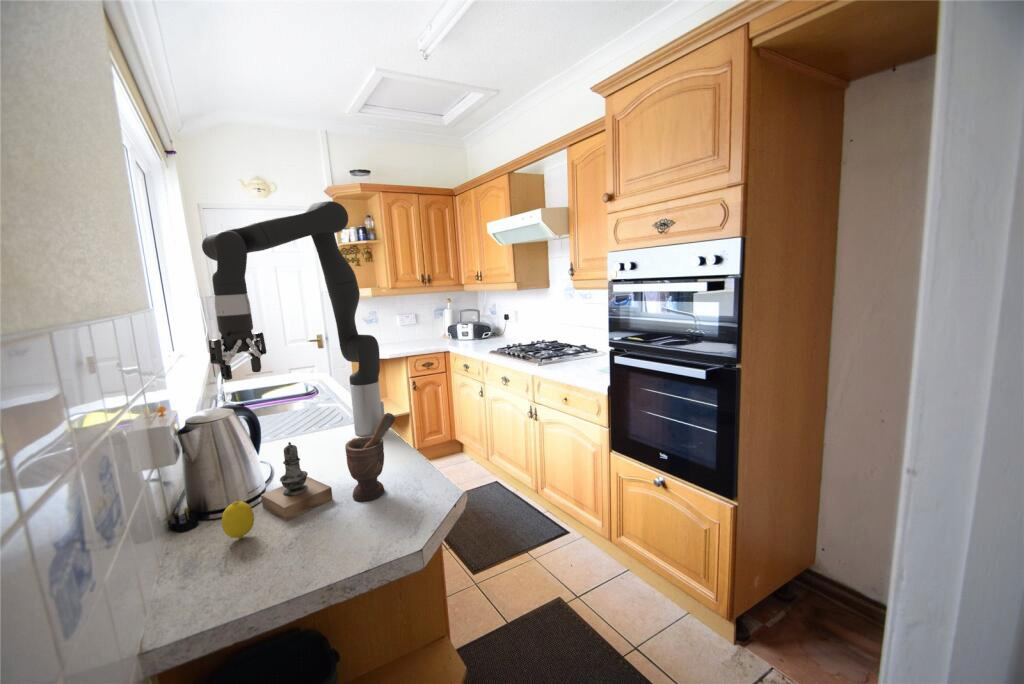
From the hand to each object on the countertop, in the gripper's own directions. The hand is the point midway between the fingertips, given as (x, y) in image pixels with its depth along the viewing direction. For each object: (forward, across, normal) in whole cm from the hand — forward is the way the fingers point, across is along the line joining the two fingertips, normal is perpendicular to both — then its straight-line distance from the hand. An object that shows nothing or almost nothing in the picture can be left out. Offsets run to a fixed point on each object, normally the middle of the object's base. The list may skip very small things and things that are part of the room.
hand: (242, 375), depth 113 cm
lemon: (+28, -23, -20) cm, 42 cm away
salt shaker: (+25, -9, -21) cm, 34 cm away
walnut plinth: (+28, -9, -21) cm, 36 cm away
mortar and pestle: (+28, -1, -37) cm, 47 cm away
